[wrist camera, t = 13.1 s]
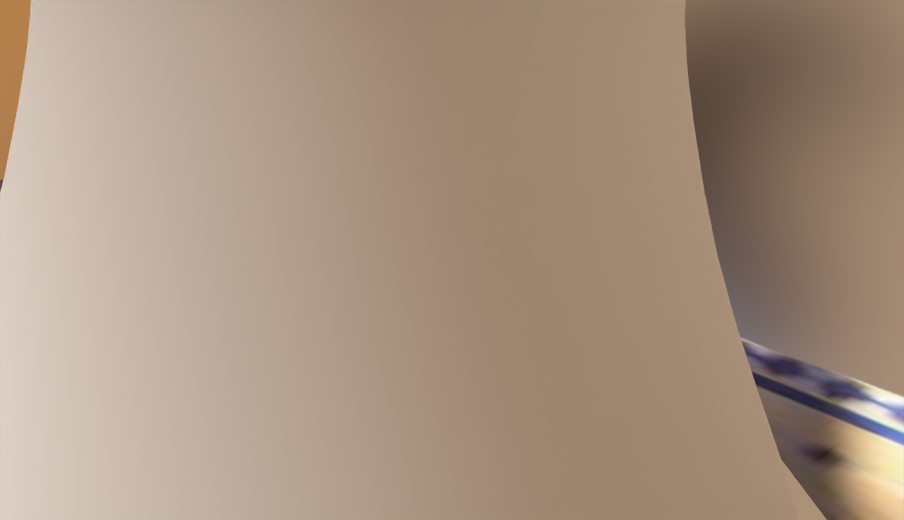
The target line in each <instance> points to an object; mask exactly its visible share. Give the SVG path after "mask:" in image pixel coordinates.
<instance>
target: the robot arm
mask: <svg viewBox="0 0 904 520" xmlns="http://www.w3.org/2000/svg"><path fill="white" fill-rule="evenodd" d="M781 461H782V460H781ZM782 464H783V467H784V471H785V474H786V478H787V481H788V485H789V488H790V491H791V495H792V498H793V502H794V505H795V508H796V512H797V515H798V519H799V520H826V518H825V517H824V516H823V514H822V513H821V512H820V510H819V509H818V508H817V506H816V505H815V504H814V503H813V501H812V500H811V499H810V497H809V496H808V495H807V493H806V492H805V491H804V489H803V488H802V487H801V485H800V484H799V483H798V481H797V480H796V479H795V477H794V476H793V475H792V473H791V472H790V471H789V469H788V468H787V467H786V465H785V464H784V463H783V461H782Z"/></svg>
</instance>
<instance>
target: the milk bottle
mask: <svg viewBox="0 0 904 520" xmlns="http://www.w3.org/2000/svg"><path fill="white" fill-rule="evenodd" d="M686 58H687V57H686V39H685V0H31V11H30V24H29V35H28V46H27V53H26V59H25V66H24V72H23V78H22V85H21V91H20V99H19V105H18V109H17V115H16V120H15V125H14V130H13V135H12V141H11V146H10V151H9V156H8V161H7V167H6V172H5V176H4V180H3V184H2V188H1V192H0V520H799V519H798V515H797V512H796V508H795V505H794V502H793V498H792V495H791V491H790V488H789V485H788V481H787V478H786V474H785V471H784V467H783V464H782V461H781V458H780V455H779V452H778V450H777V447H776V444H775V441H774V438H773V435H772V432H771V429H770V426H769V423H768V420H767V417H766V414H765V411H764V408H763V406H762V403H761V400H760V397H759V394H758V391H757V388H756V385H755V381H754V378H753V375H752V372H751V369H750V366H749V363H748V360H747V357H746V354H745V351H744V348H743V345H742V342H741V339H740V335H739V333H738V329H737V326H736V323H735V319H734V315H733V312H732V308H731V304H730V301H729V297H728V293H727V290H726V286H725V282H724V279H723V275H722V271H721V268H720V264H719V261H718V257H717V252H716V247H715V242H714V237H713V232H712V227H711V222H710V217H709V212H708V207H707V202H706V197H705V193H704V188H703V181H702V175H701V169H700V162H699V155H698V149H697V142H696V136H695V130H694V123H693V115H692V106H691V98H690V89H689V81H688V73H687V59H686Z"/></svg>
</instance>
